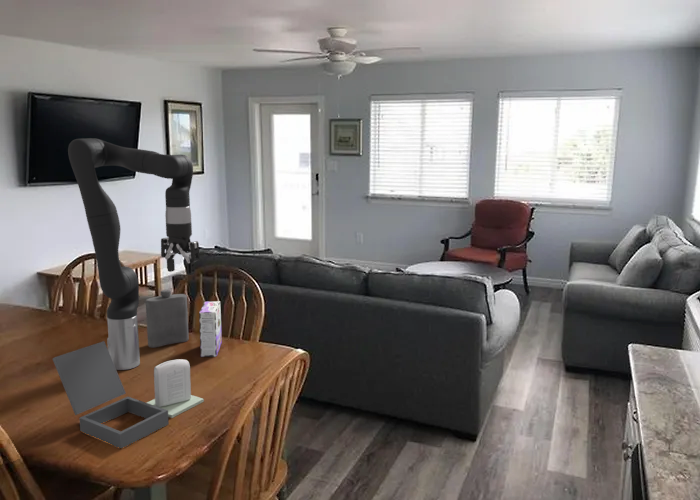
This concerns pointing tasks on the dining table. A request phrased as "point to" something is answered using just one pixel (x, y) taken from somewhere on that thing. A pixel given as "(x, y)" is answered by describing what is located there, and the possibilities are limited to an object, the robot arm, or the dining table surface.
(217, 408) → the dining table surface
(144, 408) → the case
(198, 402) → the mat
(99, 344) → the case lid
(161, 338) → the flask
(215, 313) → the candy box
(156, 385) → the white slotted device
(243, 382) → the dining table surface
